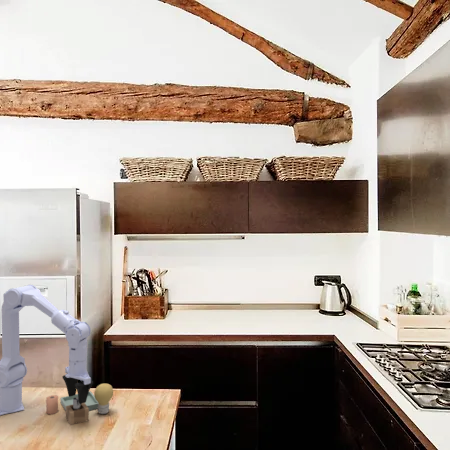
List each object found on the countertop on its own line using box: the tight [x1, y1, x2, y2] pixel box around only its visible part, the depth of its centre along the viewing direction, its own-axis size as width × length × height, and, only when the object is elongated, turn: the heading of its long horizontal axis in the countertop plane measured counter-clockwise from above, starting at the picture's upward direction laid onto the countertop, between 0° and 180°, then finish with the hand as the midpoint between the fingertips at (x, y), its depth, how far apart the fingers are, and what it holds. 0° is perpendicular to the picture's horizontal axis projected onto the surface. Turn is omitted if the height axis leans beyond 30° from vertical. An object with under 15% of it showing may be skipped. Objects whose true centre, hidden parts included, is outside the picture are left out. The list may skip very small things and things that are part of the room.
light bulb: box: [93, 383, 114, 415], centre depth 145 cm, size 6×6×10 cm
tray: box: [59, 390, 99, 412], centre depth 151 cm, size 12×11×2 cm
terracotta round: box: [45, 394, 59, 415], centre depth 145 cm, size 4×4×5 cm
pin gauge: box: [73, 397, 81, 411], centre depth 140 cm, size 2×2×7 cm
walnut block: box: [65, 403, 90, 426], centre depth 140 cm, size 6×6×4 cm
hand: (77, 399), depth 140 cm, fingers open, 7 cm apart
